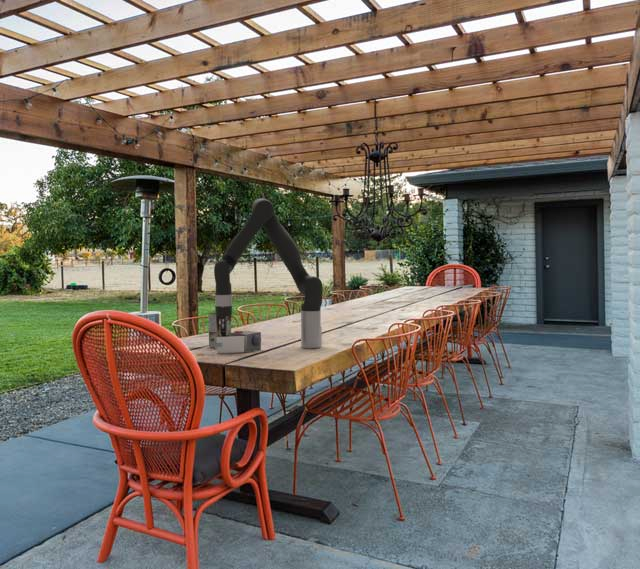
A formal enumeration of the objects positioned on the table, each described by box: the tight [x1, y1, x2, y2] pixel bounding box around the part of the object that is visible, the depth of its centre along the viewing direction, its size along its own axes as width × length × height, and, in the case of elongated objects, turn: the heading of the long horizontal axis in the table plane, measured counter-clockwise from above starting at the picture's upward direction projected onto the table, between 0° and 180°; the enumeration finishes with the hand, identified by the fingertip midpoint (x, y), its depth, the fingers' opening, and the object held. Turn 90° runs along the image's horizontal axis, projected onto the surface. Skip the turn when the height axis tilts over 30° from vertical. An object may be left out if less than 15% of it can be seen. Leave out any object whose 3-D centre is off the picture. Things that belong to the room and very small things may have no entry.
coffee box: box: [208, 312, 232, 349], centre depth 266 cm, size 9×6×16 cm
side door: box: [216, 336, 248, 354], centre depth 248 cm, size 2×13×7 cm, turn 96°
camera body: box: [230, 330, 262, 353], centre depth 256 cm, size 10×11×9 cm
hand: (224, 343), depth 251 cm, fingers closed
